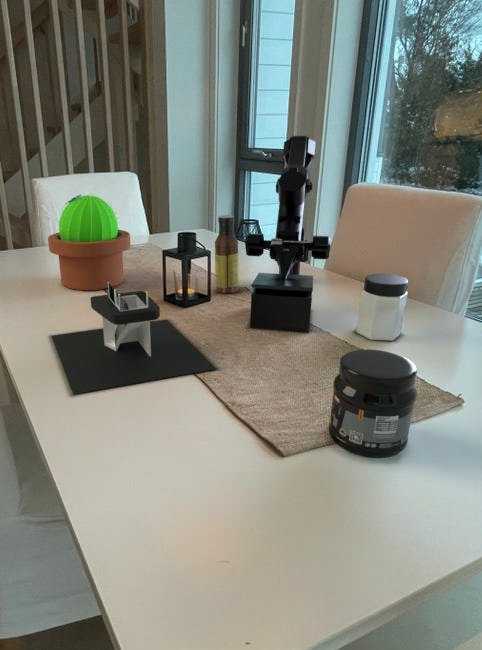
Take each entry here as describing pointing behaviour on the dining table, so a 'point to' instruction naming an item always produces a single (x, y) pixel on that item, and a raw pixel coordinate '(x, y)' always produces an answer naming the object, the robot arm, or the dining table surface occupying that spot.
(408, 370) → the supplement container
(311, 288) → the bin lid
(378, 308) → the jar
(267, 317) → the black storage bin
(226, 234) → the sauce bottle
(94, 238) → the potted cactus
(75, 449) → the dining table surface
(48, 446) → the dining table surface
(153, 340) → the black-topped pedestal
